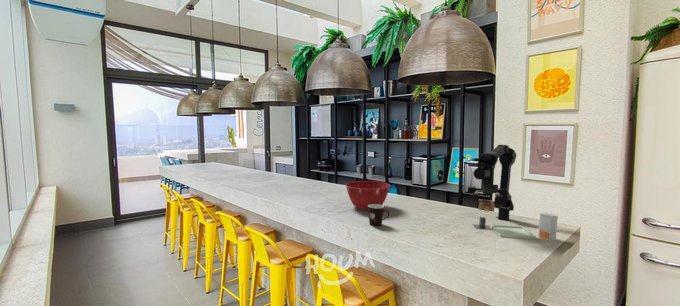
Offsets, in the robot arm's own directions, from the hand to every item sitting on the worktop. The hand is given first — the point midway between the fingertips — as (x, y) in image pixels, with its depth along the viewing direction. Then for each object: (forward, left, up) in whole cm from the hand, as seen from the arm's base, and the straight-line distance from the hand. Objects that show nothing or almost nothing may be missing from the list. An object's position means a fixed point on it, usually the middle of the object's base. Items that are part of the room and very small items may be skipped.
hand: (486, 207), depth 167 cm
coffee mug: (+6, -56, -12) cm, 57 cm away
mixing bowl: (-29, -64, -12) cm, 71 cm away
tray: (+6, +11, -11) cm, 17 cm away
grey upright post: (0, -1, -11) cm, 11 cm away
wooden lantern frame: (0, 0, -1) cm, 1 cm away
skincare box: (+11, +25, -12) cm, 30 cm away
